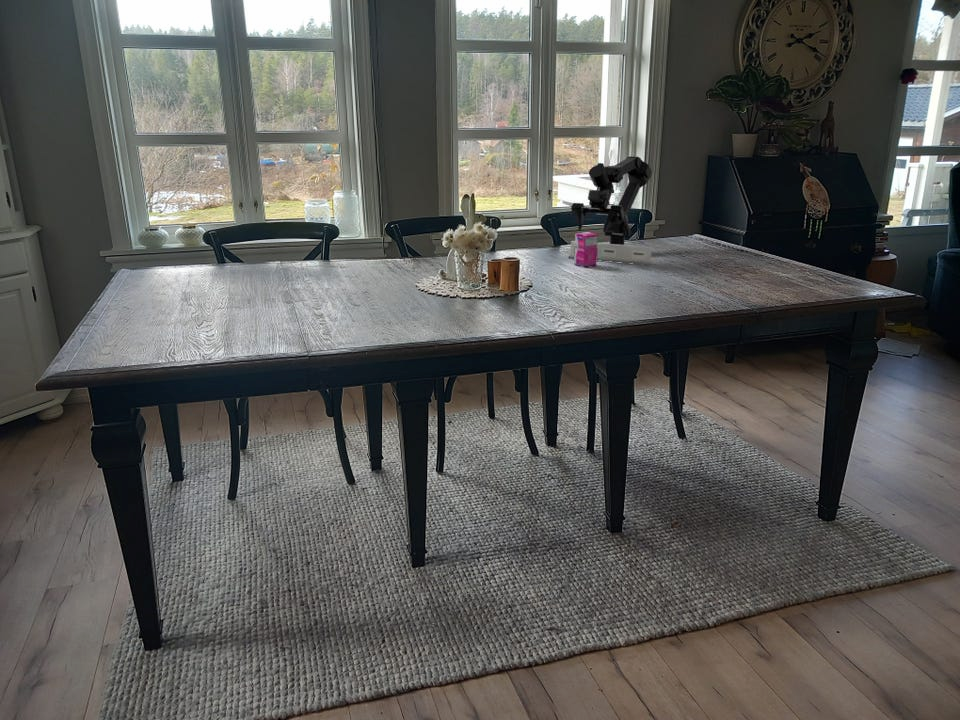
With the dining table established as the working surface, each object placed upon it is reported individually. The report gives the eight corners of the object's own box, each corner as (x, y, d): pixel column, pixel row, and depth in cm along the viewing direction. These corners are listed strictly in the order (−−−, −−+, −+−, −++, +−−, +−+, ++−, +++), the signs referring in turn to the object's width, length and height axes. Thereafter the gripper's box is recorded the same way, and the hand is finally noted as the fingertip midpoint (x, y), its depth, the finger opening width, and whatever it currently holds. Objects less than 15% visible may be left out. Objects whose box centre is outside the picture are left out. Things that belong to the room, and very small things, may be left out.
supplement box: (573, 265, 258) (574, 233, 254) (586, 263, 261) (588, 231, 257) (583, 268, 253) (585, 235, 249) (596, 266, 256) (598, 233, 252)
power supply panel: (574, 255, 274) (574, 240, 272) (652, 262, 261) (653, 246, 259) (568, 258, 269) (569, 242, 267) (647, 265, 256) (648, 249, 254)
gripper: (573, 180, 260) (561, 215, 255) (624, 182, 252) (612, 218, 246) (580, 199, 269) (568, 233, 264) (629, 202, 261) (618, 237, 256)
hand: (591, 230), depth 257 cm, fingers open, 9 cm apart
